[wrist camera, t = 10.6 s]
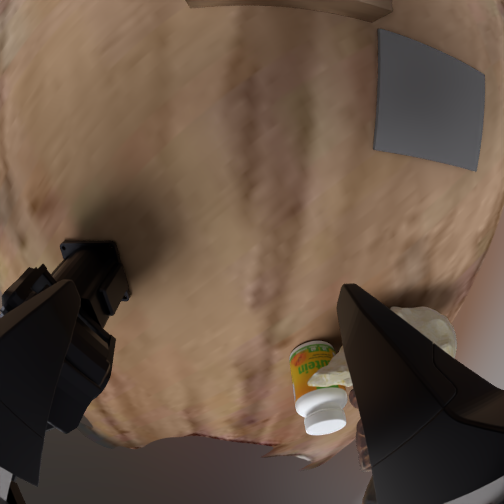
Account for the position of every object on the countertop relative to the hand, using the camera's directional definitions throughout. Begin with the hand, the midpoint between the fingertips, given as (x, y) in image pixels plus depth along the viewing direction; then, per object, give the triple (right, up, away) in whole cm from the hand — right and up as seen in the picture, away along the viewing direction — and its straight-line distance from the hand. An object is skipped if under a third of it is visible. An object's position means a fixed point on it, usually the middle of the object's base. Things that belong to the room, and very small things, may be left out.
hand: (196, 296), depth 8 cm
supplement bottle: (+9, -10, +22) cm, 25 cm away
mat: (+17, +13, +8) cm, 23 cm away
